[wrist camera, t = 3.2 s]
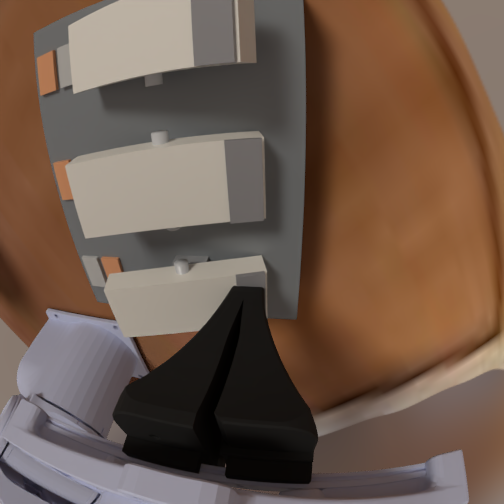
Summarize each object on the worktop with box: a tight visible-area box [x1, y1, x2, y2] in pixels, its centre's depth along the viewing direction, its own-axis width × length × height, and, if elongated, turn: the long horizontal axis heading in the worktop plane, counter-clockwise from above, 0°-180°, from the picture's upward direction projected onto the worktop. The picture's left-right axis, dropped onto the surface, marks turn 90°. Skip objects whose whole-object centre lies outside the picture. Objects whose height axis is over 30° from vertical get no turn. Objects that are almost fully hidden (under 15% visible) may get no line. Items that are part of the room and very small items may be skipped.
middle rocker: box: [65, 130, 266, 239], centre depth 10 cm, size 7×4×1 cm, turn 93°
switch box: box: [34, 0, 306, 319], centre depth 13 cm, size 12×16×4 cm
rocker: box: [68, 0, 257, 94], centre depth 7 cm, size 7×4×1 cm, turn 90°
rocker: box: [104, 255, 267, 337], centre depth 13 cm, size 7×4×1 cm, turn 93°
